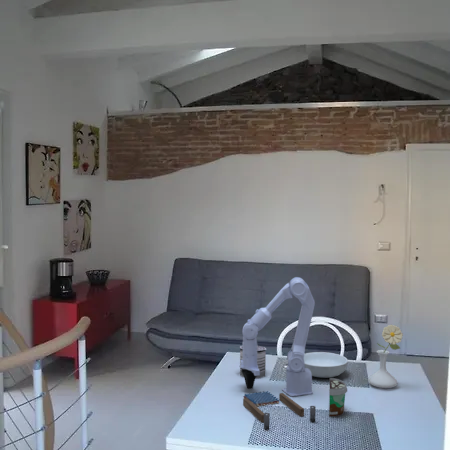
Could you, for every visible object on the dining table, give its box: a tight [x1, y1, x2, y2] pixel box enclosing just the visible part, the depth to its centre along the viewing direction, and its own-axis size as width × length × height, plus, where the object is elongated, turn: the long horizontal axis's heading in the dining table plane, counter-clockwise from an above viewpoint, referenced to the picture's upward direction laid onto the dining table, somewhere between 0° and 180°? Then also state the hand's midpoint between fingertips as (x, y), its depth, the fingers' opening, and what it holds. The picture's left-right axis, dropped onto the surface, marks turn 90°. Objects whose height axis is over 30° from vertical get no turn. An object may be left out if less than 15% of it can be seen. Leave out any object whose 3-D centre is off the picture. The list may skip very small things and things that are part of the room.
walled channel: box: [242, 392, 305, 424], centre depth 186 cm, size 16×16×2 cm
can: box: [239, 345, 267, 380], centre depth 225 cm, size 11×11×12 cm
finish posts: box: [263, 405, 316, 431], centre depth 174 cm, size 19×2×5 cm, turn 111°
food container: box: [328, 377, 348, 418], centre depth 185 cm, size 12×6×10 cm, turn 168°
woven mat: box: [242, 390, 280, 408], centre depth 196 cm, size 10×11×2 cm
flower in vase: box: [367, 324, 404, 389], centre depth 211 cm, size 13×11×25 cm
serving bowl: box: [304, 351, 349, 379], centre depth 225 cm, size 21×21×7 cm
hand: (249, 388), depth 205 cm, fingers closed
